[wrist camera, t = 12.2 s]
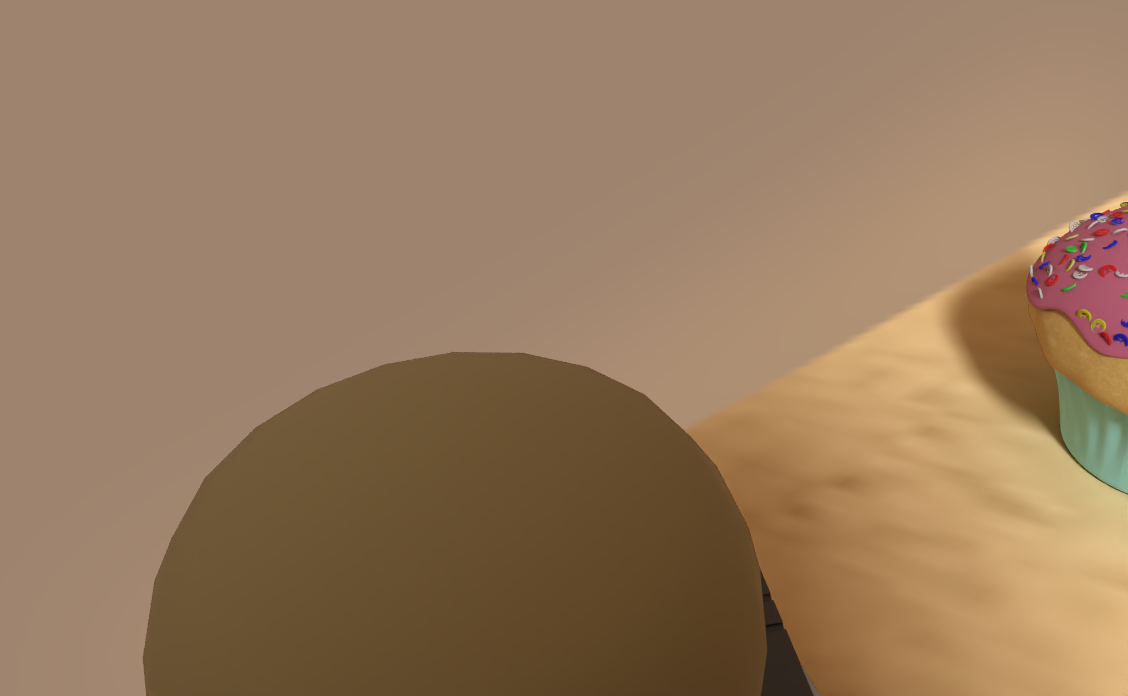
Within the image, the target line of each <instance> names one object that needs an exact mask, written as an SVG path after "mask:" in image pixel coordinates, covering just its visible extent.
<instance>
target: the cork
mask: <svg viewBox="0 0 1128 696" xmlns="http://www.w3.org/2000/svg"><path fill="white" fill-rule="evenodd" d="M766 656H767V640H766V629H765V618H764V607H763V596H762V585H761V574H760V568H759V564H758V561H757V557H756V553H755V550H754V546H753V542H752V538H751V535H750V531H749V528H748V526H747V524H746V522H745V520H744V518H743V516H742V514H741V512H740V510H739V509H738V507H737V505H736V503H735V501H734V499H733V497H732V495H731V493H730V491H729V489H728V487H727V485H726V483H725V482H724V480H723V478H722V476H721V474H720V472H719V470H718V468H717V466H716V465H715V464H714V463H713V462H712V461H711V459H710V458H709V457H708V456H707V455H706V454H705V453H704V451H703V450H702V449H701V448H700V447H699V446H698V445H697V443H696V442H695V441H694V440H693V439H692V438H691V437H690V436H689V435H688V434H687V433H686V432H685V431H684V430H683V429H682V428H681V427H679V426H678V425H677V424H676V423H675V422H674V421H673V420H672V419H671V418H670V417H669V416H667V415H666V414H665V413H664V412H663V411H662V410H661V409H660V408H659V407H658V406H656V405H655V404H654V403H653V402H652V401H651V400H650V399H649V398H648V397H647V396H645V395H644V394H642V393H640V392H638V391H636V390H634V389H632V388H630V387H628V386H626V385H624V384H622V383H620V382H617V381H615V380H613V379H611V378H609V377H607V376H605V375H603V374H601V373H599V372H597V371H595V370H593V369H590V368H588V367H585V366H581V365H576V364H571V363H567V362H562V361H557V360H552V359H547V358H543V357H539V356H534V355H530V354H524V353H474V352H472V353H471V352H470V353H469V352H453V353H447V354H441V355H435V356H430V357H424V358H419V359H413V360H407V361H402V362H396V363H390V364H385V365H382V366H379V367H376V368H374V369H371V370H369V371H366V372H363V373H360V374H358V375H355V376H352V377H350V378H347V379H344V380H342V381H339V382H337V383H334V384H331V385H329V386H326V387H323V388H321V389H318V390H316V391H314V392H312V393H311V394H309V395H308V396H306V397H304V398H303V399H301V400H300V401H298V402H296V403H295V404H293V405H292V406H290V407H288V408H287V409H285V410H284V411H282V412H280V413H279V414H277V415H275V416H274V417H272V418H271V419H269V420H267V421H266V422H264V423H263V424H261V425H259V426H258V427H256V428H255V429H254V430H253V431H252V432H251V433H250V434H249V435H248V436H247V437H246V438H245V439H244V440H243V441H242V442H241V443H240V444H239V445H238V446H237V447H236V448H235V449H234V450H233V451H232V452H231V453H230V454H229V455H228V456H227V457H226V458H225V459H224V460H223V461H222V462H221V463H220V464H219V465H218V466H217V467H216V468H215V469H214V470H213V471H212V472H211V473H210V474H209V475H208V476H207V477H206V478H205V479H204V481H203V483H202V485H201V486H200V488H199V490H198V492H197V494H196V496H195V497H194V499H193V501H192V503H191V504H190V506H189V508H188V510H187V512H186V514H185V515H184V517H183V519H182V521H181V523H180V524H179V526H178V528H177V530H176V532H175V534H174V535H173V537H172V539H171V541H170V544H169V546H168V549H167V551H166V554H165V556H164V559H163V561H162V564H161V566H160V569H159V571H158V574H157V576H156V579H155V582H154V589H153V596H152V602H151V609H150V615H149V622H148V628H147V635H146V641H145V648H144V654H143V664H144V674H145V685H146V696H761V692H762V685H763V677H764V670H765V663H766Z"/></svg>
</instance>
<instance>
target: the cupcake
mask: <svg viewBox="0 0 1128 696" xmlns="http://www.w3.org/2000/svg"><path fill="white" fill-rule="evenodd" d="M1125 204H1128V202H1123V203H1121V204H1120V206H1121V207H1122V208H1119V209H1116V210H1114V211H1111V212H1110V210H1107V211H1105V212H1103V213H1093V214H1091V215H1090V218H1086V219H1084V220H1079V222H1080V224H1079V223H1078V222H1077V221H1072V222H1071V223H1070V225H1069V230H1070V231H1069V232H1068V233H1066V234H1065V235H1064V236H1062V237H1061V238H1060V237H1054V238H1052V239H1050V240H1049V241H1048V243H1047V246H1046V247H1045V248H1044V249H1043V254H1042V255H1041V256H1040V257H1039V259H1038V260H1037V261H1036V263H1035V264H1034V266H1033V265H1032V264H1031V265H1030V273H1029V276H1028V279H1027V296H1028V299H1029V306H1028V310H1029V315H1030V317H1031V319H1032V321H1033V323H1034V326H1035V330H1036V334H1037V337H1038V340H1039V342H1040V345H1041V347H1042V350H1043V353H1044V355H1045V358H1046V360H1047V361H1048V363H1049V364H1050V365H1051V366H1052V367H1053V368H1054V370H1055V375H1056V380H1057V386H1058V392H1059V405H1060V429H1061V434H1062V437H1063V440H1064V442H1065V444H1066V446H1067V448H1068V450H1069V451H1070V453H1071V454H1072V455H1073V456H1074V458H1075V459H1076V460H1077V461H1078V462H1079V463H1080V464H1081V465H1082V466H1083V467H1084V468H1085V469H1087V470H1088V471H1089V472H1090V473H1092V474H1093V475H1094V476H1096V477H1097V478H1099V479H1100V480H1102V481H1103V482H1105V483H1107V484H1108V485H1110V486H1112V487H1114V488H1116V489H1118V490H1120V491H1122V492H1124V493H1127V494H1128V205H1125ZM1095 215H1098V216H1095ZM1074 224H1076V226H1075V225H1074ZM1072 226H1073V227H1074V228H1072ZM1052 241H1054V242H1052ZM1051 242H1052V243H1051Z"/></svg>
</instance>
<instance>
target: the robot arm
mask: <svg viewBox="0 0 1128 696" xmlns="http://www.w3.org/2000/svg"><path fill="white" fill-rule="evenodd" d="M760 574H761V585H762V596H763V607H764V618H765V629H766V640H767V656H766V663H765V670H764V677H763V685H762V692H761V696H814V695H813V692H812V690H811V688H810V685H809V683H808V681H807V678H806V676H805V673H804V671H803V669H802V666H801V664H800V662H799V659H798V657H797V655H796V652H795V650H794V648H793V645H792V643H791V641H790V638H789V636H788V633H787V631H786V629H785V630H784V628H783V622H782V619H781V617H780V615H779V612H778V610H777V608H776V605H775V603H774V601H773V600H772V599H771V596H770V591H769V589H768V586H767V584H766V582H765V579H764V577H763V575H762V572H761V570H760Z"/></svg>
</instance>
